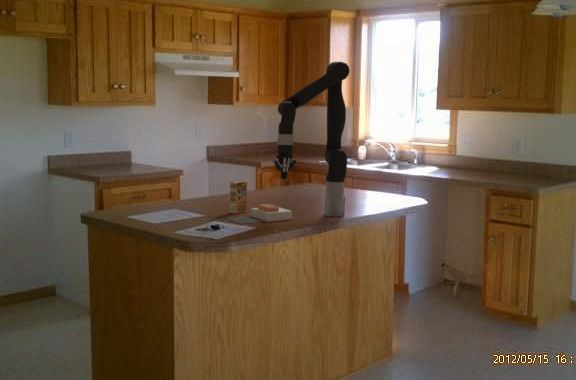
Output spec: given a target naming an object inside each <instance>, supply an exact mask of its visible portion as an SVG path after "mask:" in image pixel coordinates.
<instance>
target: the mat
mask: <svg viewBox="0 0 576 380" xmlns="http://www.w3.org/2000/svg"><path fill="white" fill-rule="evenodd" d="M224 220H226V221H230V222H233V223H235V224H238V225H250V224H257V223H266V221H264V220H261V219H258V218H255V217H252V216H251V215H245V216H235V217H226V218H225V219H224Z"/></svg>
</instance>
